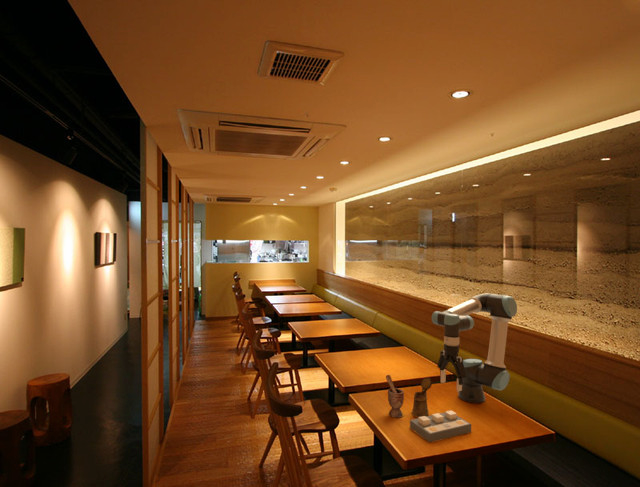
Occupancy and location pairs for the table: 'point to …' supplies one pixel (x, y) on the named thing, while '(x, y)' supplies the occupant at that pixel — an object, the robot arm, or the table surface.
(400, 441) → the table surface
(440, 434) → the button panel
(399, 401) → the mortar and pestle
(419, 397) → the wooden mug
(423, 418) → the button
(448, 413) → the button
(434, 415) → the button middle
